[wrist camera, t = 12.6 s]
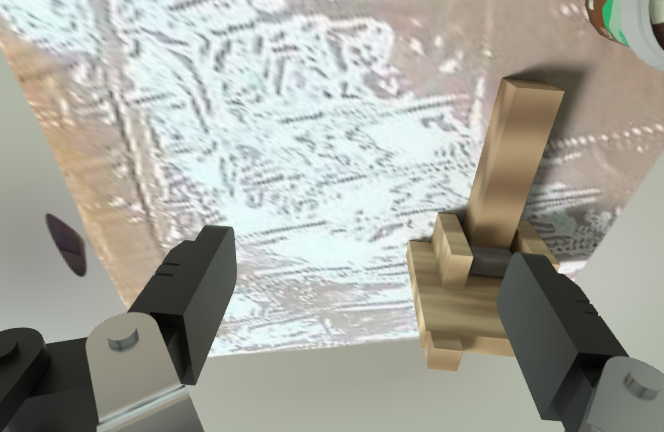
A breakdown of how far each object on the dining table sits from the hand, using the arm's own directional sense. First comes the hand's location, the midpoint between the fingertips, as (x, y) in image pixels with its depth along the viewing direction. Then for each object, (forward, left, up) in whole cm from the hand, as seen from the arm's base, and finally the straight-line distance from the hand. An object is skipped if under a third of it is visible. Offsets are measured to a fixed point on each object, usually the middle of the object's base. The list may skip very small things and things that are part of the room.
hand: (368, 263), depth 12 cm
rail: (+8, +15, -30) cm, 34 cm away
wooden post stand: (+17, +15, -30) cm, 37 cm away
